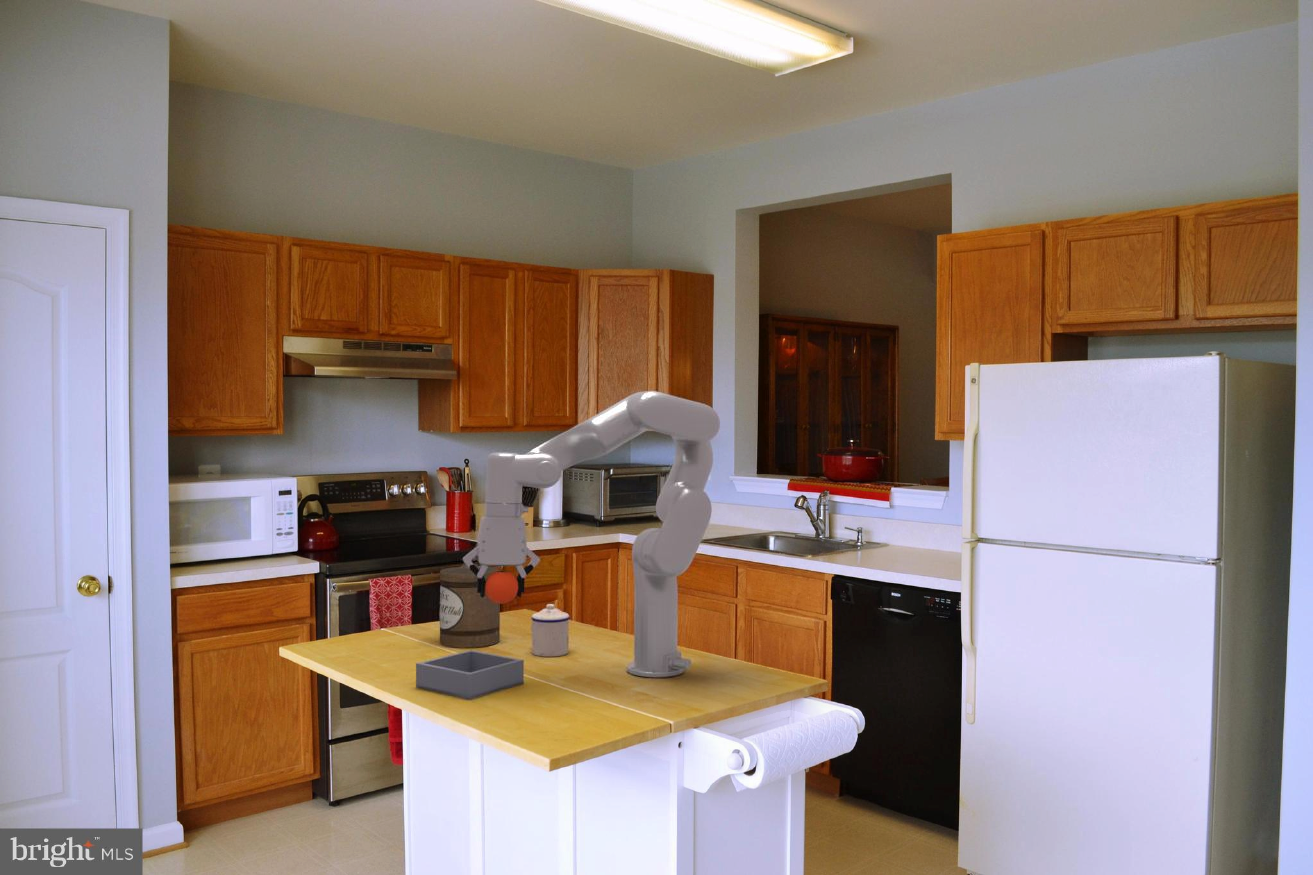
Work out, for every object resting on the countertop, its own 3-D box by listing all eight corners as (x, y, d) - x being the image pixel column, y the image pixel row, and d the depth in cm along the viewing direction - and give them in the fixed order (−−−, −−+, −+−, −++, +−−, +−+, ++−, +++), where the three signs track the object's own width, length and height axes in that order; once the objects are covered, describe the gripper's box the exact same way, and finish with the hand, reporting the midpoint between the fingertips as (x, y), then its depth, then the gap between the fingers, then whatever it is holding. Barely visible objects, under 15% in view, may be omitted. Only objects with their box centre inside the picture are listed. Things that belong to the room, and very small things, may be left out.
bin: (523, 683, 210) (523, 659, 210) (469, 699, 197) (469, 674, 197) (471, 672, 219) (471, 649, 219) (416, 687, 206) (416, 663, 206)
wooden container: (433, 638, 254) (434, 552, 254) (490, 634, 260) (491, 549, 260) (447, 650, 240) (447, 559, 240) (506, 645, 247) (507, 556, 246)
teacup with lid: (577, 653, 238) (577, 604, 238) (545, 659, 232) (545, 609, 232) (547, 645, 247) (548, 598, 247) (516, 650, 241) (517, 602, 241)
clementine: (486, 599, 212) (488, 565, 212) (519, 600, 212) (521, 567, 213) (481, 605, 204) (483, 570, 204) (515, 606, 204) (517, 572, 205)
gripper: (541, 510, 215) (539, 593, 215) (459, 509, 210) (457, 593, 210) (547, 513, 208) (544, 598, 208) (462, 512, 203) (459, 599, 203)
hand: (500, 595), depth 209 cm, fingers closed on clementine, 7 cm apart
